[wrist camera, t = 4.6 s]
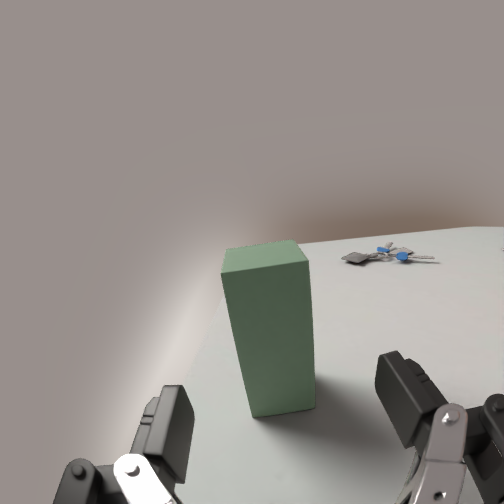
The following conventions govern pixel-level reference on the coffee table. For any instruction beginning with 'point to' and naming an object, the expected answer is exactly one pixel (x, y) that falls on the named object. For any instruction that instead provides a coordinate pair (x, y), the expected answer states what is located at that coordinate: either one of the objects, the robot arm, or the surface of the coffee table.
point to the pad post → (272, 325)
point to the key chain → (400, 254)
